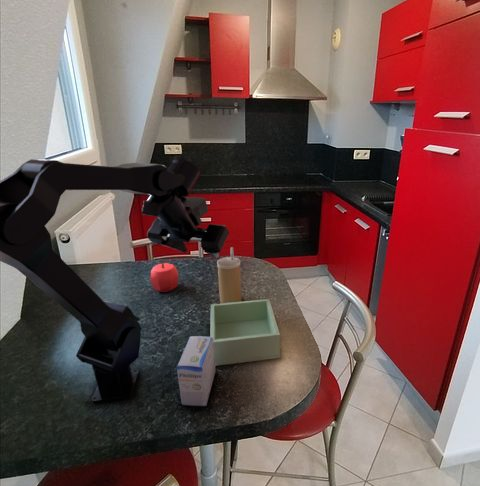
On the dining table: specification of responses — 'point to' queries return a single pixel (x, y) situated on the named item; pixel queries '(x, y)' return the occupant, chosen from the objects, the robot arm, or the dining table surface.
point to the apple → (164, 277)
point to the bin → (244, 332)
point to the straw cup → (229, 279)
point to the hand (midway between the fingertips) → (201, 253)
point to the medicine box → (196, 371)
